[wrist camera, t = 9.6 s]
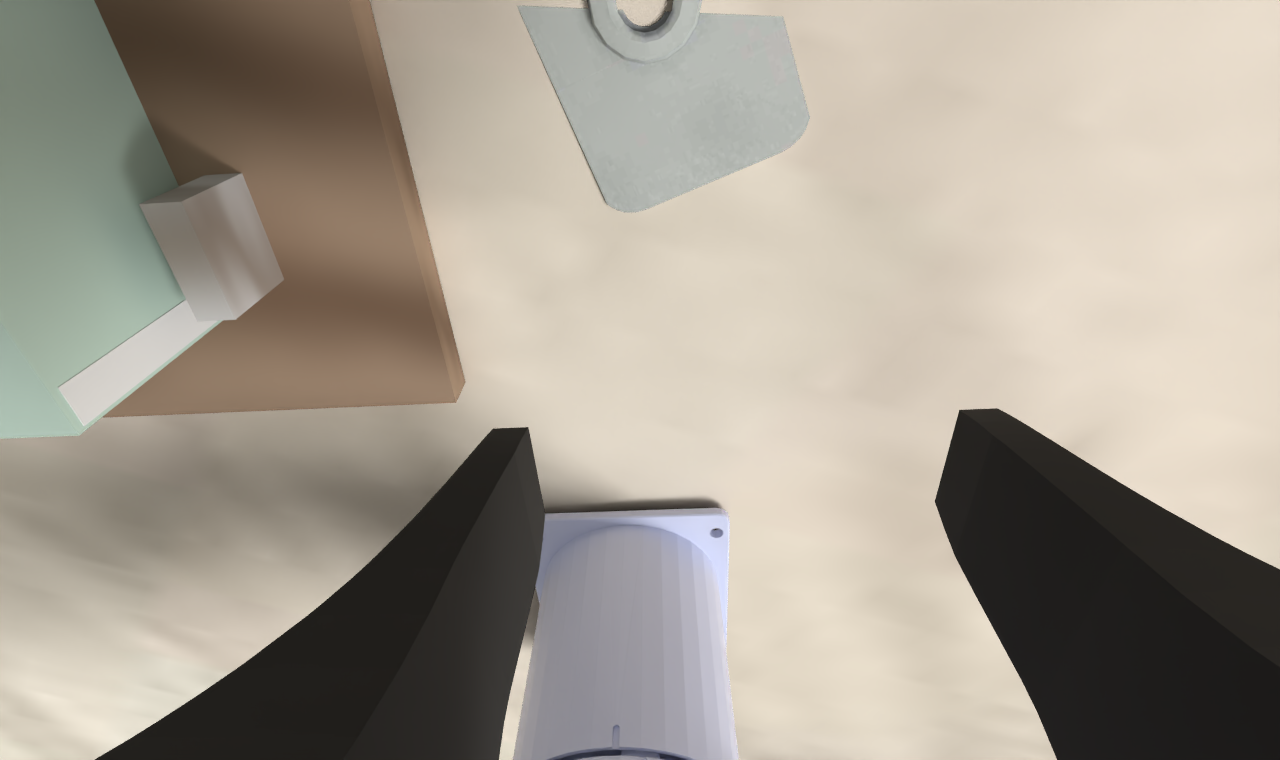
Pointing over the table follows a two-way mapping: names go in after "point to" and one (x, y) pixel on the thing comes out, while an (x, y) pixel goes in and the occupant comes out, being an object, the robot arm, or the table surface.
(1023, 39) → the table surface
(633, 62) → the mounting bracket
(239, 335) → the cabinet base
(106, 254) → the door panel
